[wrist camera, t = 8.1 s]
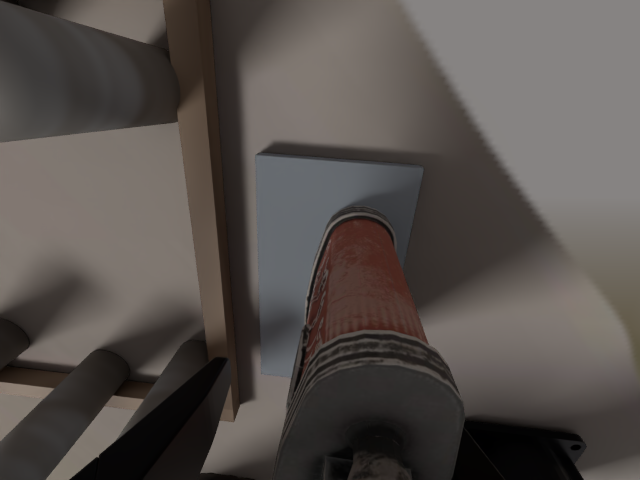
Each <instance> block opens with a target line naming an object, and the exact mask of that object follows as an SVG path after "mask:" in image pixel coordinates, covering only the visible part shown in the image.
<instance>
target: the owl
mask: <svg viewBox="0 0 640 480" xmlns="http://www.w3.org/2000/svg"><path fill="white" fill-rule="evenodd" d="M197 480H254V479H250V478H238V477H236V476H232V475H229V476H228V475H219V474H214V473H207V474H205V473H201V474H199V477H198V479H197Z"/></svg>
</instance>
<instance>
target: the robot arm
mask: <svg viewBox="0 0 640 480" xmlns="http://www.w3.org/2000/svg"><path fill="white" fill-rule="evenodd" d="M230 384H231V366H230V360H229V358H227V357H215V358H213V359H212V360H211V361H209V362H208V363H207V364H206V365H205V366H204V367H202V368H201V369H200V370H199V371H198V372H196V373H195V374H194V375H193V376H192V377H191V378H189V379H188V380H187V381H186V382H185V383H184V384H182V385H181V386H180V387H179V388H178V389H176V390H175V391H174V392H173V393H172V394H171V395H169V396H168V397H167V398H166V399H165V400H163V401H162V402H161V403H160V404H159V405H158V406H156V407H155V408H154V409H153V410H152V411H150V412H149V413H148V414H147V415H146V416H145V417H143V418H142V419H141V420H140V421H139V422H137V423H136V424H135V425H134V426H133V427H132V428H130V429H129V430H128V431H127V432H126V433H124V434H123V435H122V436H121V437H120V438H119V439H117V440H116V441H115V442H114V443H113V444H111V445H110V446H109V447H108V448H107V449H106V450H104V451H103V452H102V453H101V454H100V455H99V458H98V457H96V458H95V459H94V460H92V461H91V462H90V463H89V464H88V465H86V466H85V467H84V468H83V469H82V470H81V471H79V472H78V473H77V474H76V475H74V476H73V477H72V478H71V479H70V480H197V479H198V477H199V474H200V472H201V470H202V467H203V465H204V462H205V460H206V457H207V455H208V453H209V450H210V448H211V445H212V443H213V440H214V437H215V434H216V431H217V427H218V424H219V421H220V418H221V414H222V411H223V408H224V404H225V401H226V398H227V394H228V391H229V388H230ZM585 449H586V444H585V443H584V441H583V440H582V438H581V437H580V436H579V435H577V434H571V433H563V432H554V431H546V430H537V429H529V428H521V427H512V426H504V425H495V424H487V423H478V422H470V421H465V422H464V426H463V431H462V435H461V440H460V445H459V449H458V454H457V459H456V463H455V468H454V473H453V476H452V478H451V480H584V479H583V477H582V476H581V474H580V473H579V471H578V469H577V468H576V466H575V465H574V464H575V463H576V461H577V460H578V459H579V457H580V456H581V454H582V453H583V452H584V450H585Z"/></svg>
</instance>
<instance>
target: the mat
mask: <svg viewBox="0 0 640 480" xmlns="http://www.w3.org/2000/svg"><path fill="white" fill-rule="evenodd" d="M255 163H256V199H257V236H258V273H259V309H260V346H261V374H265V375H273V376H282V377H291V378H292V372H293V367H294V362H295V358H296V353H297V349H298V345H299V340H300V336H301V331H302V327H303V326H304V324H305V302H306V295H307V290H308V285H309V281H310V276H311V272H312V267H313V263H314V258H315V255H316V252H317V249H318V247H319V244H320V241H321V238H322V236H323V233H324V230H325V228H326V225H327V223H328V221H329V220H330V218H331V217H332V215H334V214H335V213H336V212H338V211H339V210H341V209H343V208H347V207H350V206H367V207H370V208H374V209H377V210H378V211H379V212H381V213H382V214H384V215H385V216H386V217H387V219H388V220H389V221H390V223H391V224H392V227H393V229H394V232H395V236H396V241H397V249H396V254H397V257H398V260H399V263H400V265H401V268H402V271H403V267H404V262H405V258H406V253H407V248H408V243H409V239H410V234H411V229H412V224H413V219H414V215H415V210H416V205H417V200H418V195H419V191H420V186H421V181H422V176H423V172H424V168H423V167H422V166H421V165H412V164H399V163H386V162H374V161H361V160H348V159H336V158H323V157H310V156H298V155H285V154H272V153H258V154H256V155H255Z"/></svg>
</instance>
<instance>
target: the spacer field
mask: <svg viewBox="0 0 640 480" xmlns="http://www.w3.org/2000/svg"><path fill="white" fill-rule="evenodd" d="M163 6H164V13H165V21H166V29H167V37H168V45H169V51H168V50H166V49H163V48H159V47H156V46H153V45H149V44H146V43H142V42H139V41H136V40H132V39H129V38H126V37H122V36H119V35H115V34H112V33H109V32H105V31H102V30H98V29H95V28H92V27H88V26H85V25H82V24H78V23H75V22H71V21H68V20H65V19H61V18H58V17H55V16H51V15H48V14H44V13H41V12H38V11H34V10H31V9H27V8H24V7H21V6H20V5H19V4H18V2H17V1H16V0H0V142H9V141H18V140H26V139H35V138H44V137H53V136H62V135H70V134H79V133H88V132H97V131H105V130H114V129H123V128H132V127H141V126H149V125H158V124H167V123H175V122H178V123H179V131H180V139H181V147H182V155H183V163H184V170H185V178H186V186H187V194H188V202H189V210H190V217H191V225H192V233H193V241H194V249H195V257H196V265H197V272H198V280H199V288H200V296H201V304H202V312H203V319H204V327H205V335H206V342H202V341H197V340H192V341H187V342H185V343H183V344H182V345H181V346H180V348H179V349H178V350H177V352H176V353H175V355H174V356H173V358H172V359H171V361H170V362H169V364H168V365H167V367H166V368H165V369H164V371H163V372H162V374H161V375H160V377H159V378H158V380H157V381H156V383H155V384H152V383H143V382H135V381H127V380H126V378H127V377H128V376H129V368H128V366H127V364H126V363H125V361H124V360H123V359H122V358H120V357H119V356H117V355H116V354H114V353H111V352H108V351H103V350H98V351H94V352H92V353H90V354H89V355H88V356H87V357H86V358H85V359H84V360H83V361H82V362H81V363H80V364H79V365H78V366H77V367H76V368H75V369H74V370H73V371H72V372H71V373H70V374H68V373H59V372H51V371H42V370H34V369H25V368H17V367H9V366H7V364H8V363H9V362H11V361H12V360H13V359H14V358H16V357H17V356H18V355H20V354H21V353H22V352H24V351H25V350H26V349H27V348H28V346H29V341H28V338H27V336H26V334H25V333H24V332H23V331H22V330H21V329H20V328H19V327H18V326H16V325H15V324H13V323H11V322H9V321H7V320H4V319H0V393H2V394H10V395H18V396H26V397H34V398H42V399H43V400H42V401H41V402H40V403H39V404H38V405H37V406H36V407H35V408H34V409H33V410H32V411H31V412H30V413H29V414H28V415H27V416H26V417H25V418H24V419H23V420H22V421H21V422H20V423H19V424H18V425H17V426H16V427H15V428H14V429H13V430H12V431H11V432H9V433H8V434H7V435H6V436H5V437H4V438H3V439H2V440H1V441H0V480H46V478H47V477H48V476H49V475H50V473H51V472H52V471H53V470H54V468H55V467H56V466H57V465H58V463H59V462H60V461H61V460H62V458H63V457H64V456H65V455H66V453H67V452H68V451H69V450H70V448H71V447H72V446H73V445H74V443H75V442H76V441H77V440H78V438H79V437H80V436H81V435H82V433H83V432H84V431H85V430H86V428H87V427H88V426H89V425H90V423H91V422H92V421H93V420H94V418H95V417H96V416H97V415H98V413H99V412H100V411H101V410H102V408H103V407H104V406H107V407H115V408H123V409H131V410H136V412H135V413H134V415H133V416H132V418H131V419H130V421H129V422H128V423H127V425H126V426H125V428H124V429H123V431H122V432H121V434H120V435H119V437H118V438H117V439H119V438H120V437H121V436H122V435H123V434H124V433H126V432H127V431H128V430H129V429H130V428H132V427H133V426H134V425H135V424H136V423H137V422H139V421H140V420H141V419H142V418H143V417H145V416H146V415H147V414H148V413H149V412H150V411H152V410H153V409H154V408H155V407H156V406H158V405H159V404H160V403H161V402H162V401H163V400H165V399H166V398H167V397H168V396H169V395H171V394H172V393H173V392H174V391H175V390H176V389H178V388H179V387H180V386H181V385H182V384H184V383H185V382H186V381H187V380H188V379H189V378H191V377H192V376H193V375H194V374H195V373H196V372H198V371H199V370H200V369H201V368H202V367H204V366H205V365H206V364H207V363H208V362H209V361H211V360H212V359H213V358H215V357H227V358H229V360H230V366H231V384H230V388H229V391H228V394H227V398H226V401H225V404H224V408H223V411H222V414H221V418H220V421H229V422H234V421H235V418H236V415H237V412H238V409H239V407H240V401H239V388H238V374H237V361H236V347H235V334H234V320H233V307H232V293H231V280H230V266H229V253H228V239H227V226H226V212H225V199H224V185H223V172H222V159H221V145H220V132H219V118H218V105H217V91H216V78H215V64H214V51H213V37H212V24H211V10H210V0H163Z"/></svg>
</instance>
